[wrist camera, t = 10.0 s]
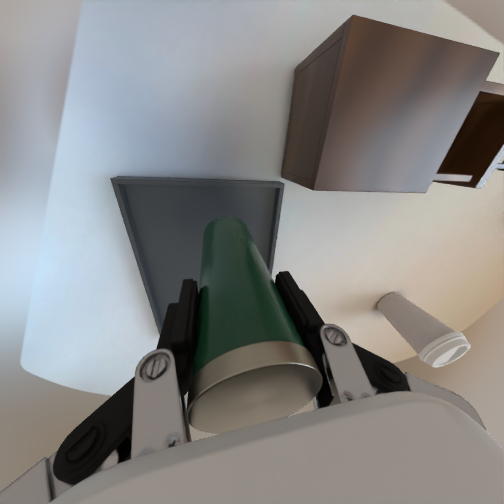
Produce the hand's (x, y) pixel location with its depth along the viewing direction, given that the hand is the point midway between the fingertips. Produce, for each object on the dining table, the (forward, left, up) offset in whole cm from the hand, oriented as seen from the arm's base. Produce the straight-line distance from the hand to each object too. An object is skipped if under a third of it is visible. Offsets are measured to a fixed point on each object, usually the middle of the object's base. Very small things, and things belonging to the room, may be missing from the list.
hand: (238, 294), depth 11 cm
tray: (+11, -2, -18) cm, 22 cm away
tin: (0, 0, -8) cm, 8 cm away
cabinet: (-11, +16, -18) cm, 26 cm away
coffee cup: (+25, +44, -18) cm, 54 cm away
